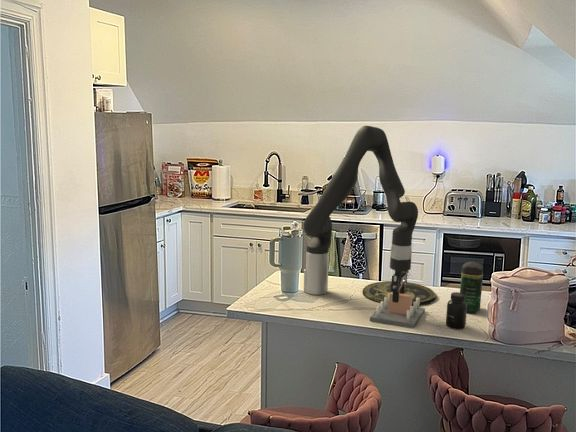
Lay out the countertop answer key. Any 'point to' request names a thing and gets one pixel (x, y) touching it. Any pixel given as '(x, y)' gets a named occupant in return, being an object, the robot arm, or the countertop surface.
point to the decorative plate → (425, 294)
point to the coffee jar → (472, 285)
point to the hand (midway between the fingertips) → (398, 298)
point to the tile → (400, 303)
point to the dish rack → (398, 315)
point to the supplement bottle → (456, 311)
